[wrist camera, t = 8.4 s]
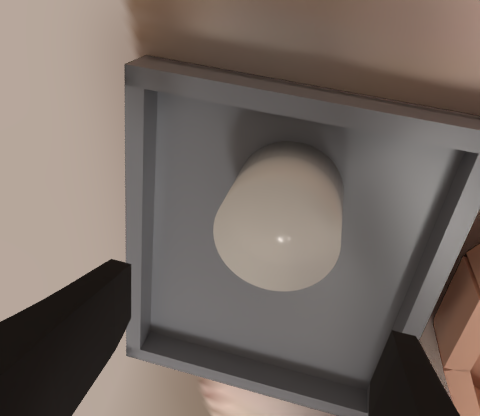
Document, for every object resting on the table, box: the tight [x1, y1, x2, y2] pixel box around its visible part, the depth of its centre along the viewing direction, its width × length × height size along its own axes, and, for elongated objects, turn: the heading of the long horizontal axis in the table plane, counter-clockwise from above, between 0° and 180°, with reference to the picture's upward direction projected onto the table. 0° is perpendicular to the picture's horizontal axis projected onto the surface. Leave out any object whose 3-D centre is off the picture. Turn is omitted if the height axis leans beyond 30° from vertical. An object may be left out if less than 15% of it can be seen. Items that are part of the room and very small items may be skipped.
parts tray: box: [125, 55, 480, 416], centre depth 21 cm, size 16×14×2 cm
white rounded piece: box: [213, 141, 344, 291], centre depth 17 cm, size 5×5×4 cm
